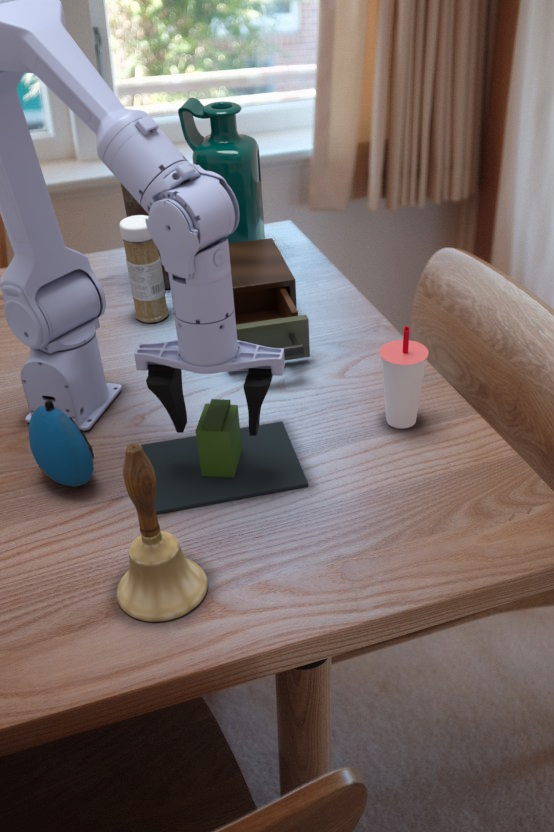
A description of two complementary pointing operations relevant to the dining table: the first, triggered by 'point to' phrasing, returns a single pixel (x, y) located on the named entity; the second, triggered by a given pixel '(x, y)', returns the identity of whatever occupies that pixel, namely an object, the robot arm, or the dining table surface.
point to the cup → (402, 379)
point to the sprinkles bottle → (144, 270)
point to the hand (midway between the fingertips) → (218, 428)
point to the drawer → (272, 322)
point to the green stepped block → (219, 439)
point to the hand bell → (155, 555)
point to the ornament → (60, 446)
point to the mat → (255, 475)
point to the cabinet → (259, 267)
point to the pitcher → (228, 161)
